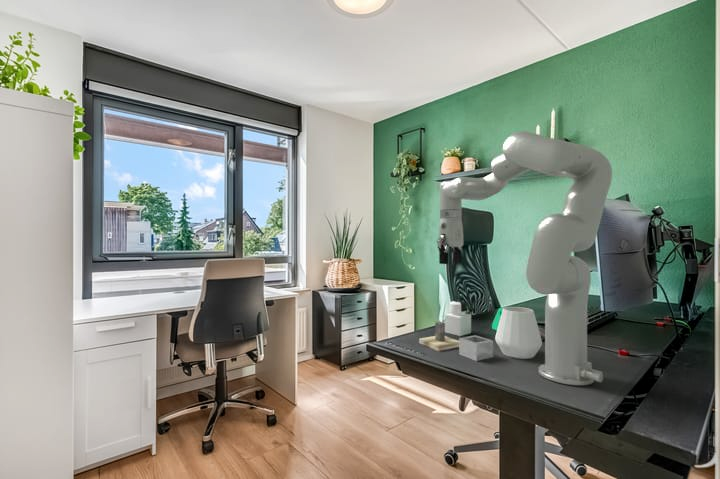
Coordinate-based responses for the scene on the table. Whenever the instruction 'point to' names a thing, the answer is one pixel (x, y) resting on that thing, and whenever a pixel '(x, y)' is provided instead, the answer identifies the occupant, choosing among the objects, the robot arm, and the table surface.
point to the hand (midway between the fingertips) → (450, 263)
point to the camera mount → (497, 319)
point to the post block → (439, 339)
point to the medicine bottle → (458, 319)
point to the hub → (476, 347)
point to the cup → (518, 333)
